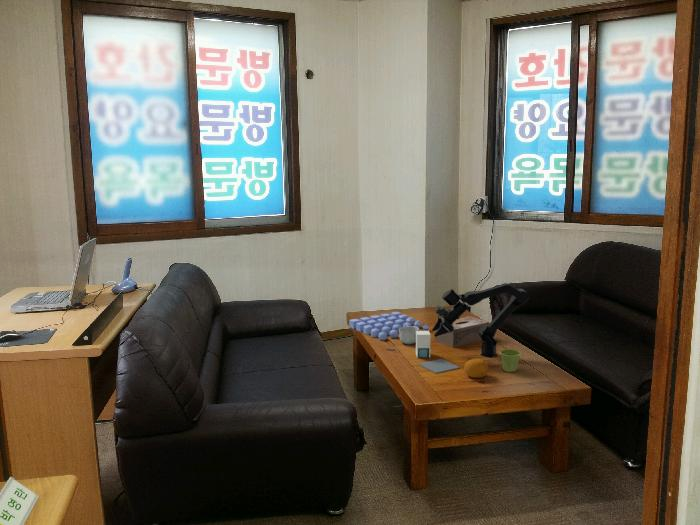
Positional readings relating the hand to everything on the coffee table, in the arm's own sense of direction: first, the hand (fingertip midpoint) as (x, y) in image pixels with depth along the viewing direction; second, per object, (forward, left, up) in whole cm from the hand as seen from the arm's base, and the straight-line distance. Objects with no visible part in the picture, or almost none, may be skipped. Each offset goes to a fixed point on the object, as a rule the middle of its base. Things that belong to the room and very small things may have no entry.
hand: (433, 333), depth 294 cm
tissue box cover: (+3, -32, -12) cm, 34 cm away
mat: (-11, +11, -12) cm, 20 cm away
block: (+4, +3, -12) cm, 13 cm away
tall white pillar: (+4, +3, -12) cm, 13 cm away
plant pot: (-39, -6, -12) cm, 41 cm away
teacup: (+23, -11, -12) cm, 28 cm away
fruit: (-31, +11, -12) cm, 35 cm away
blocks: (+46, -23, -12) cm, 53 cm away
